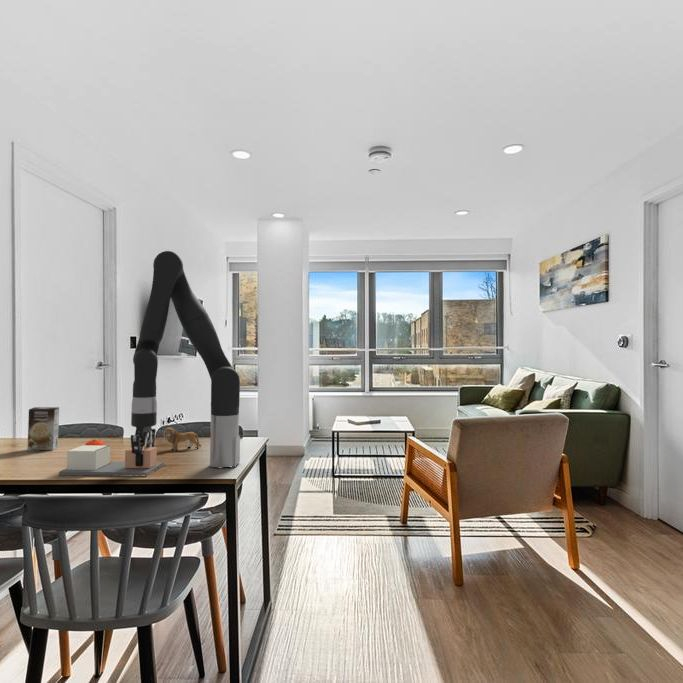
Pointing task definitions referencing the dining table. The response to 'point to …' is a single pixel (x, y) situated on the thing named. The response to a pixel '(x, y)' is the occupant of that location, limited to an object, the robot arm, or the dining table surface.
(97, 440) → the clementine
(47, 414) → the coffee box
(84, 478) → the dining table surface
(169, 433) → the lion figurine
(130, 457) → the stub
